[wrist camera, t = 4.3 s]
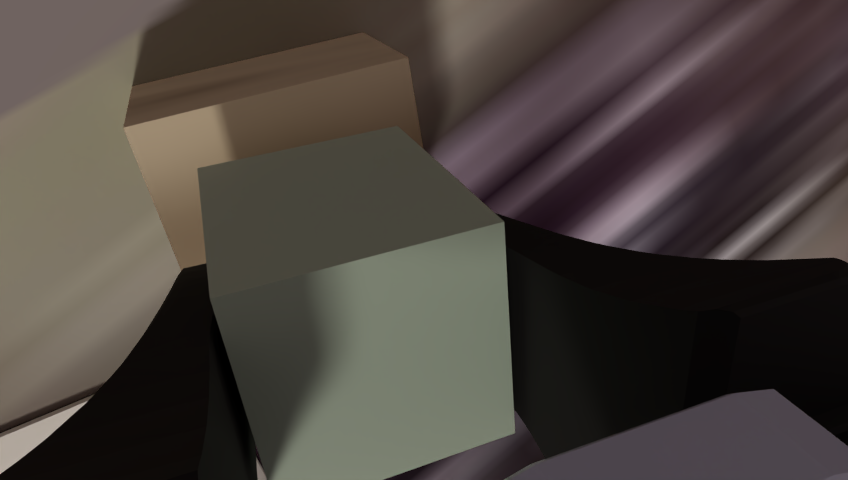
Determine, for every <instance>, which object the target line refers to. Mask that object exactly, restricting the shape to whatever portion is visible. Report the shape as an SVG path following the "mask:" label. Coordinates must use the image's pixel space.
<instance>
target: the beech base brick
mask: <svg viewBox="0 0 848 480" xmlns="http://www.w3.org/2000/svg"><path fill="white" fill-rule="evenodd" d="M394 126H398V127H399V128H401V129H402V130H403V131H404V132H405V133H406V134H407V135H408V136H409V137H411V138H412V139H413V140H414V141H415V142H416V143H417V144H418V145H420V146H421V147H422V148H423V143H422V137H421V131H420V125H419V119H418V113H417V107H416V101H415V95H414V89H413V83H412V77H411V71H410V65H409V59H408V57H407V56H405V55H403V54H401V53H400V52H398V51H396V50H394V49H392V48H391V47H389V46H387V45H385V44H383V43H382V42H380V41H378V40H376V39H374V38H373V37H371V36H369V35H367V34H365V33H364V32H362V33H357V34H353V35H349V36H345V37H340V38H336V39H332V40H327V41H323V42H319V43H315V44H310V45H306V46H302V47H298V48H293V49H289V50H285V51H280V52H276V53H272V54H268V55H263V56H259V57H255V58H250V59H246V60H242V61H238V62H233V63H229V64H225V65H221V66H216V67H212V68H208V69H203V70H199V71H195V72H191V73H186V74H182V75H178V76H174V77H169V78H165V79H161V80H156V81H152V82H148V83H144V84H139V85H135V86H132V90H131V94H130V99H129V104H128V108H127V113H126V118H125V122H124V127H123V128H124V131H125V133H126V135H127V138H128V140H129V143H130V145H131V148H132V150H133V153H134V155H135V158H136V160H137V163H138V165H139V167H140V170H141V172H142V175H143V177H144V180H145V182H146V185H147V187H148V190H149V192H150V195H151V197H152V199H153V202H154V204H155V207H156V209H157V212H158V214H159V217H160V219H161V222H162V224H163V227H164V229H165V231H166V234H167V236H168V239H169V241H170V244H171V246H172V249H173V251H174V254H175V256H176V259H177V261H178V263H179V266H180V268H181V271H182V269H183V268H187V267H192V266H196V265H200V264H205V263H206V254H205V243H204V233H203V223H202V212H201V202H200V191H199V181H198V171H197V168H200V167H205V166H210V165H215V164H219V163H224V162H229V161H233V160H238V159H243V158H248V157H252V156H257V155H262V154H266V153H271V152H276V151H281V150H285V149H290V148H295V147H299V146H304V145H309V144H314V143H318V142H323V141H328V140H332V139H337V138H342V137H347V136H351V135H356V134H361V133H366V132H370V131H375V130H380V129H384V128H389V127H394Z"/></svg>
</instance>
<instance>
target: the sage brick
mask: <svg viewBox="0 0 848 480" xmlns="http://www.w3.org/2000/svg"><path fill="white" fill-rule="evenodd" d="M197 171H198V181H199V191H200V202H201V212H202V223H203V233H204V243H205V254H206V264H207V275H208V285H209V295H210V301H211V304H212V307H213V310H214V314H215V317H216V320H217V323H218V326H219V329H220V333H221V336H222V339H223V342H224V345H225V348H226V352H227V355H228V358H229V361H230V364H231V367H232V371H233V374H234V377H235V380H236V383H237V386H238V390H239V393H240V396H241V399H242V402H243V405H244V409H245V412H246V415H247V418H248V421H249V424H250V428H251V431H252V434H253V437H254V440H255V443H256V447H257V450H258V453H259V456H260V459H261V462H262V466H263V469H264V472H265V475H266V478H267V480H384V479H387V478H389V477H392V476H395V475H398V474H401V473H404V472H406V471H409V470H412V469H415V468H418V467H421V466H423V465H426V464H429V463H432V462H435V461H438V460H440V459H443V458H446V457H449V456H452V455H454V454H457V453H460V452H463V451H466V450H469V449H471V448H474V447H477V446H480V445H483V444H486V443H488V442H491V441H494V440H497V439H500V438H503V437H505V436H508V435H511V434H514V433H515V422H514V402H513V383H512V363H511V343H510V324H509V304H508V285H507V265H506V245H505V226H504V221H503V220H502V219H501V218H500V217H499V216H497V215H496V214H495V213H494V212H493V211H492V210H491V209H490V208H489V207H487V206H486V205H485V204H484V203H483V202H482V201H481V200H480V199H479V198H477V197H476V196H475V195H474V194H473V193H472V192H471V191H470V190H469V189H467V188H466V187H465V186H464V185H463V184H462V183H461V182H460V181H459V180H457V179H456V178H455V177H454V176H453V175H452V174H451V173H450V172H448V171H447V170H446V169H445V168H444V167H443V166H442V165H441V164H440V163H438V162H437V161H436V160H435V159H434V158H433V157H432V156H431V155H430V154H428V153H427V152H426V151H425V150H424V149H423V148H422V147H421V146H420V145H418V144H417V143H416V142H415V141H414V140H413V139H412V138H411V137H409V136H408V135H407V134H406V133H405V132H404V131H403V130H402V129H401V128H399V127H398V126H394V127H389V128H384V129H380V130H375V131H370V132H366V133H361V134H356V135H351V136H347V137H342V138H337V139H332V140H328V141H323V142H318V143H314V144H309V145H304V146H299V147H295V148H290V149H285V150H281V151H276V152H271V153H266V154H262V155H257V156H252V157H248V158H243V159H238V160H233V161H229V162H224V163H219V164H215V165H210V166H205V167H200V168H197Z"/></svg>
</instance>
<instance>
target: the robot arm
mask: <svg viewBox="0 0 848 480" xmlns="http://www.w3.org/2000/svg"><path fill="white" fill-rule="evenodd" d="M495 214H496V213H495ZM496 215H497V216H499V217H500V218H501V219H502V220H503V221H504V226H505V245H506V265H507V285H508V304H509V324H510V343H511V363H512V383H513V402H514V409H515V411H516V412H517V413H518V415H519V416H520V418H521V419H522V421H523V422H524V424H525V425H526V427H527V428H528V430H529V431H530V433H531V434H532V436H533V438H534V439H535V441H536V443H537V445H538V446H539V448H540V450H541V452H542V453H543V455H544V457H545V458H546V459H544V460H541V461H538V462H536V463H533V464H531V465H529V466H527V467H525V468H524V469H522V470H520V471H518V472H516V473H515V474H513V475H511V476H509V477H508V478H506V479H504V480H848V263H847V262H845V261H842V260H840V259H837V258H816V259H791V260H719V259H701V258H689V257H679V256H669V255H659V254H652V253H645V252H638V251H632V250H627V249H622V248H616V247H611V246H605V245H601V244H596V243H592V242H588V241H584V240H580V239H577V238H573V237H569V236H565V235H562V234H558V233H555V232H552V231H548V230H545V229H542V228H539V227H536V226H532V225H529V224H526V223H523V222H520V221H517V220H514V219H511V218H508V217H505V216H502V215H499V214H496ZM0 480H258V478H257V463H256V449H255V440H254V437H253V434H252V431H251V428H250V424H249V421H248V418H247V415H246V412H245V409H244V405H243V402H242V399H241V396H240V393H239V390H238V386H237V383H236V380H235V377H234V374H233V371H232V367H231V364H230V361H229V358H228V355H227V352H226V348H225V345H224V342H223V339H222V336H221V333H220V329H219V326H218V323H217V320H216V317H215V314H214V310H213V307H212V304H211V301H210V295H209V285H208V275H207V264H206V263H205V264H200V265H196V266H192V267H187V268H183V269H182V271H181V272H180V274H179V275H178V277H177V279H176V280H175V282H174V284H173V286H172V288H171V290H170V292H169V294H168V295H167V297H166V299H165V301H164V302H163V304H162V306H161V308H160V309H159V311H158V313H157V314H156V316H155V317H154V319H153V321H152V322H151V324H150V325H149V327H148V329H147V330H146V332H145V333H144V335H143V336H142V338H141V339H140V340H139V342H138V343H137V344H136V346H135V347H134V348H133V350H132V351H131V353H130V354H129V355H128V357H127V358H126V359H125V361H124V362H123V363H122V364H121V366H120V367H119V368H118V369H117V370H116V372H115V373H114V374H113V375H112V376H111V377H110V378H109V379H108V380H107V382H106V383H105V384H104V385H103V386H102V387H101V388H100V389H99V390H98V391H97V392H96V393H95V394H94V395H93V396H92V397H91V398H90V399H89V400H88V401H87V402H86V403H85V404H84V405H83V406H82V407H81V408H80V409H79V410H78V411H76V412H75V413H74V414H73V415H72V416H71V417H70V418H69V419H68V420H66V421H65V422H64V423H63V424H62V425H61V426H60V427H59V428H58V429H56V430H55V431H54V432H53V433H52V434H51V435H50V436H49V437H48V438H46V439H45V440H44V441H43V442H41V443H40V444H39V445H38V446H36V447H35V448H34V449H33V450H31V451H30V452H29V453H28V454H26V455H25V456H24V457H22V458H21V459H20V460H19V461H17V462H16V463H15V464H13V465H12V466H10V467H9V468H8V469H6V470H5V471H4V472H2V473H1V474H0Z"/></svg>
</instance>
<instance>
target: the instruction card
mask: <svg viewBox="0 0 848 480" xmlns="http://www.w3.org/2000/svg"><path fill="white" fill-rule="evenodd" d="M92 396H93V395H91V396H89V397H86V398H84V399H82V400H79V401H77V402H74V403H72V404H70V405H67V406H65V407H62V408H60V409H58V410H55V411H53V412H50V413H48V414H46V415H43V416H41V417H38V418H36V419H34V420H31V421H29V422H26V423H24V424H22V425H19V426H17V427H14V428H12V429H10V430H7V431H5V432H2V433H0V474H1V473H2V472H4V471H5V470H6V469H8V468H9V467H10V466H12V465H13V464H15V463H16V462H17V461H19V460H20V459H21V458H22V457H24V456H25V455H26V454H28V453H29V452H30V451H31V450H33V449H34V448H35V447H36V446H38V445H39V444H40V443H41V442H43V441H44V440H45V439H46V438H48V437H49V436H50V435H51V434H52V433H53V432H54V431H55V430H56V429H58V428H59V427H60V426H61V425H62V424H63V423H64V422H65V421H66V420H68V419H69V418H70V417H71V416H72V415H73V414H74V413H75V412H76V411H78V410H79V409H80V408H81V407H82V406H83V405H84V404H85V403H86V402H87V401H88V400H89V399H90V398H91V397H92ZM256 463H257V478H258V480H267V478H266V475H265V472H264V470H263V468H262V466H261V464H260V463H259V461H258V459H257V457H256Z"/></svg>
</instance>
